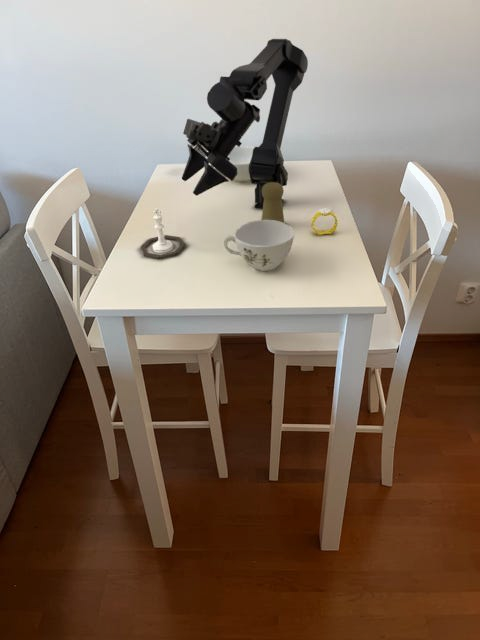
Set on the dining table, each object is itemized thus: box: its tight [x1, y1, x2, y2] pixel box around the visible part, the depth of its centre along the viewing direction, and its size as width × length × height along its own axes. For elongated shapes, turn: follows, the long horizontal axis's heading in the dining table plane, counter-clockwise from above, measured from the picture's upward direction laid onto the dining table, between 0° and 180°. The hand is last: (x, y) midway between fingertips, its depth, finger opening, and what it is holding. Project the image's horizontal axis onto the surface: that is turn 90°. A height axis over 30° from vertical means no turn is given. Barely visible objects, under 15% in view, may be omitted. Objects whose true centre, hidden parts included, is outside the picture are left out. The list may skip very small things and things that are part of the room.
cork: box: [261, 182, 285, 223], centre depth 114 cm, size 6×6×11 cm
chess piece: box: [152, 207, 174, 254], centre depth 108 cm, size 5×5×10 cm
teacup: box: [223, 219, 295, 272], centre depth 101 cm, size 15×12×8 cm
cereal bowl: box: [228, 145, 256, 183], centre depth 142 cm, size 17×17×7 cm
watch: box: [311, 207, 339, 236], centre depth 111 cm, size 6×3×6 cm, turn 91°
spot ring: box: [139, 234, 186, 260], centre depth 111 cm, size 10×10×1 cm
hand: (188, 186), depth 105 cm, fingers open, 9 cm apart
